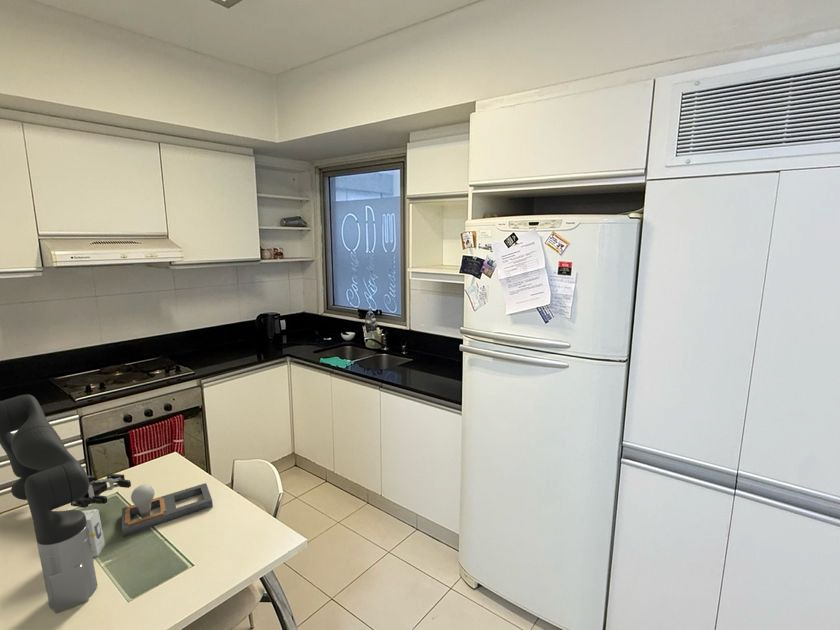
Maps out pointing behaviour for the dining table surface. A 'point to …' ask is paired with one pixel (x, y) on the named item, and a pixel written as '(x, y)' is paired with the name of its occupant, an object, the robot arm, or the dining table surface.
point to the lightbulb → (143, 499)
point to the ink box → (94, 531)
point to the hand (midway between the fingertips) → (118, 491)
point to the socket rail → (166, 509)
